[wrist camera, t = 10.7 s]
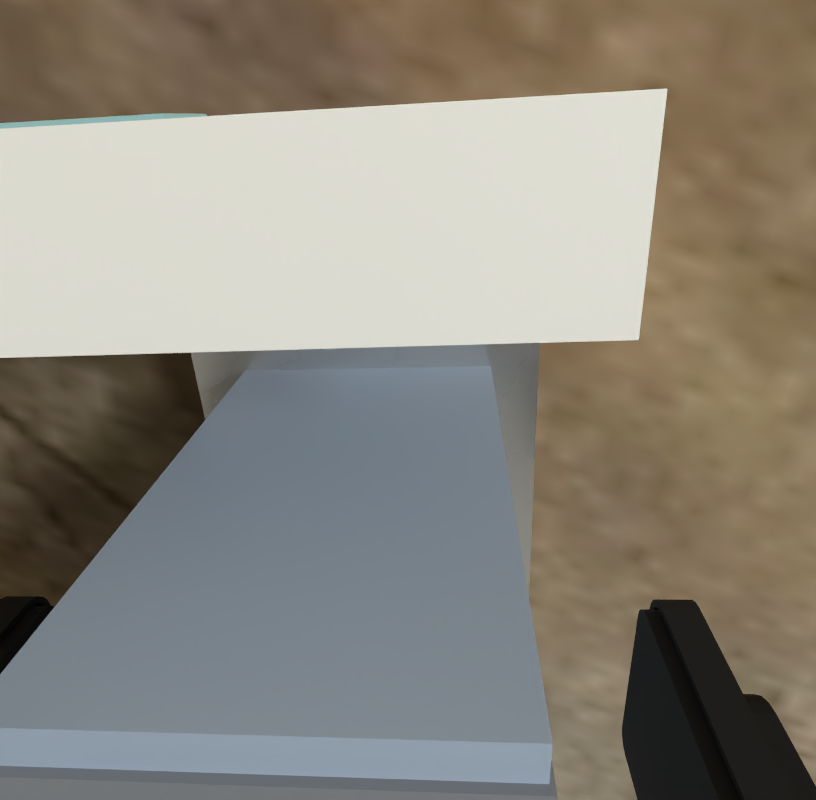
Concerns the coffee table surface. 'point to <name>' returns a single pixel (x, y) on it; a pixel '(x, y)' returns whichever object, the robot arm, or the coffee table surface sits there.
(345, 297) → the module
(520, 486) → the rail
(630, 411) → the coffee table surface
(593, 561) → the coffee table surface
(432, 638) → the block
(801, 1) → the coffee table surface
